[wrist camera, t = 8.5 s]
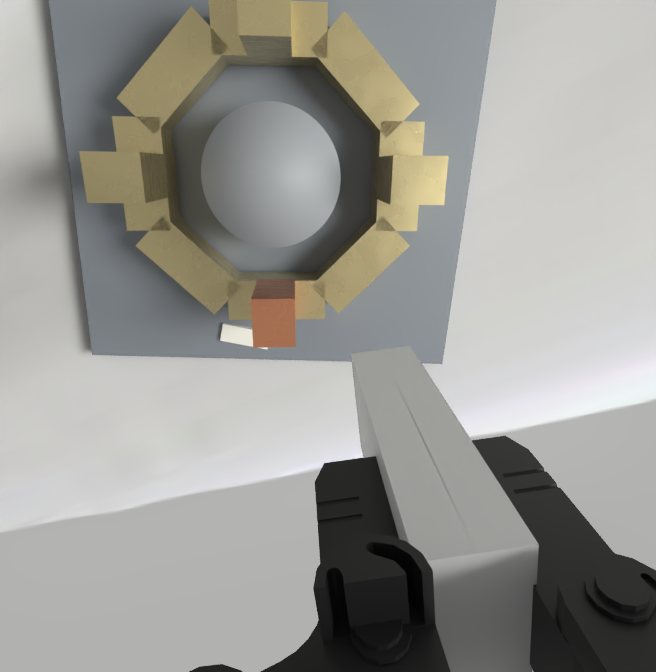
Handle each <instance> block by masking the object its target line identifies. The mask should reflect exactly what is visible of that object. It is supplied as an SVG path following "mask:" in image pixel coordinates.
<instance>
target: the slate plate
mask: <svg viewBox="0 0 656 672" xmlns="http://www.w3.org/2000/svg"><path fill="white" fill-rule="evenodd" d="M291 1H313V2H328V29H329V28H330V27H331V26H332V25H333V24H334V22H335V21H336V20H337V19H338V18H339V17H340V16H341V15H342V14H343V12H344V11H345V12H346V13H347V14H348V16H349V17H350V18H351V19H352V21H353V22H354V23H355V24H356V26H357V27H358V28H359V29H360V30H361V32H362V33H363V34H364V35H365V37H366V38H367V39H368V40H369V42H370V43H371V44H372V45H373V47H374V48H375V49H376V50H377V52H378V53H379V54H380V55H381V57H382V58H383V59H384V60H385V62H386V63H387V64H388V65H389V67H390V68H391V69H392V70H393V71H394V73H395V74H396V75H397V76H398V78H399V79H400V80H401V81H402V83H403V84H404V85H405V86H406V88H407V89H408V90H409V91H410V93H411V94H412V95H413V96H414V98H415V99H416V100H417V101H418V103H419V105H418V106H417V107H416V109H415V110H414V111H413V112H412V113H411V114H410V115H409V116H408V117H407V118H406V119H405V120H404V121H413V122H425V128H424V142H423V155H422V156H449V157H448V168H447V179H446V190H445V201H444V205H419V210H418V223H417V231H397V232H398V233H399V234H400V235H401V237H402V238H403V239H404V240H405V241H406V242H407V243H408V244H409V245H410V246H409V247H408V248H407V249H406V250H405V251H404V252H403V253H402V254H401V255H400V256H399V257H398V258H397V259H396V260H395V261H393V262H392V263H391V264H390V265H389V266H388V267H387V268H386V269H385V270H384V271H383V272H382V273H381V274H380V275H379V276H378V277H377V278H376V279H375V280H374V281H372V282H371V283H370V284H369V285H368V286H367V287H366V288H365V289H364V290H363V291H362V292H361V293H360V294H359V295H358V296H357V297H356V298H355V299H354V300H353V301H351V302H350V303H349V304H348V305H347V306H346V307H345V308H344V309H343V310H342V311H341V312H340V313H338V312H337V311H336V310H335V309H334V308H333V307H332V306H331V305H330V304H329V303H328V302H327V301H326V300H325V319H296V347H264V348H253V334H252V320H229V311H228V301H227V302H226V303H225V304H224V305H223V306H222V307H221V308H220V309H219V310H218V311H217V312H216V314H215V315H214V314H213V313H212V312H211V311H210V310H209V309H207V308H206V307H205V306H204V305H203V304H202V303H201V302H199V301H198V300H197V299H196V298H195V297H194V296H193V295H191V294H190V293H189V292H188V291H187V290H186V289H184V288H183V287H182V286H181V285H180V284H179V283H178V282H176V281H175V280H174V279H173V278H172V277H171V276H170V275H168V274H167V273H166V272H165V271H164V270H163V269H162V268H160V267H159V266H158V265H157V264H156V263H155V262H154V261H152V260H151V259H150V258H149V257H148V256H147V255H145V254H144V253H143V252H142V251H141V250H140V249H139V248H137V247H136V245H137V244H138V243H139V241H140V240H141V239H142V238H143V237H144V236H145V235H146V234H147V232H148V231H127V226H126V218H125V211H124V203H87V198H86V192H85V185H84V179H83V173H82V166H81V160H80V154H79V151H102V152H117V150H116V143H115V135H114V128H113V120H112V116H130V117H136V116H135V115H134V114H133V113H132V112H130V111H129V110H128V109H127V108H126V107H125V106H124V105H123V104H122V103H121V102H120V101H119V100H118V99H117V97H118V96H119V94H120V93H121V92H122V91H123V90H124V88H125V87H126V86H127V85H128V83H129V82H130V81H131V80H132V78H133V77H134V76H135V75H136V73H137V72H138V71H139V70H140V69H141V67H142V66H143V65H144V64H145V62H146V61H147V60H148V59H149V57H150V56H151V55H152V54H153V52H154V51H155V50H156V49H157V48H158V46H159V45H160V44H161V43H162V41H163V40H164V39H165V38H166V36H167V35H168V34H169V33H170V31H171V30H172V29H173V28H174V27H175V25H176V24H177V23H178V22H179V20H180V19H181V18H182V17H183V15H184V14H185V13H186V12H187V11H188V9H189V8H190V7H191V6H192V7H193V8H194V9H195V11H196V12H197V13H198V14H199V15H200V16H201V17H202V18H203V19H204V20H205V22H206V23H207V24H208V25H209V26H210V15H209V0H49V8H50V16H51V24H52V33H53V41H54V49H55V57H56V65H57V73H58V81H59V90H60V98H61V106H62V114H63V122H64V130H65V138H66V147H67V155H68V163H69V171H70V179H71V187H72V195H73V204H74V212H75V220H76V228H77V236H78V244H79V253H80V261H81V269H82V277H83V285H84V293H85V301H86V310H87V318H88V326H89V334H90V342H91V350H92V355H121V356H160V357H199V358H238V359H277V360H315V361H352V359H351V354H354V353H361V352H368V351H376V350H383V349H390V348H398V347H405V346H411V348H412V350H413V351H414V353H415V354H416V356H417V357H418V359H419V360H420V362H421V363H432V364H442V361H443V355H444V348H445V341H446V335H447V328H448V321H449V315H450V308H451V301H452V295H453V288H454V281H455V274H456V268H457V261H458V254H459V248H460V241H461V234H462V228H463V221H464V214H465V208H466V201H467V194H468V188H469V181H470V174H471V167H472V161H473V154H474V147H475V141H476V134H477V127H478V121H479V114H480V107H481V101H482V94H483V87H484V80H485V74H486V67H487V60H488V54H489V47H490V40H491V34H492V27H493V20H494V14H495V7H496V0H291ZM172 133H173V144H174V155H175V165H176V176H177V186H178V197H179V208H180V217H181V218H182V219H183V220H184V221H185V222H186V223H187V224H189V225H190V226H191V227H192V228H193V229H194V230H195V231H196V232H197V233H198V234H199V235H200V236H201V237H203V238H204V239H205V240H206V241H207V242H208V243H209V244H210V245H211V246H212V247H213V248H214V249H216V250H217V251H218V252H219V253H220V254H221V255H222V256H223V257H224V258H225V259H226V260H227V261H229V262H230V263H231V264H232V265H233V266H234V267H235V268H236V269H237V270H238V271H239V272H315V271H316V270H317V269H319V268H320V267H321V266H322V265H323V264H324V263H325V262H326V261H327V260H328V259H329V258H330V257H331V256H332V255H333V254H334V253H335V252H336V251H337V250H338V249H339V248H340V247H341V246H342V245H343V244H344V243H345V242H346V241H347V240H348V239H349V238H350V237H351V236H352V235H353V234H354V233H355V232H356V231H357V230H358V229H359V228H360V227H361V226H362V225H363V224H364V223H365V222H366V221H367V220H368V219H369V218H370V201H371V176H372V150H373V133H372V132H371V131H370V130H369V129H368V127H367V126H366V125H365V124H364V123H363V122H362V120H361V119H360V118H359V117H358V116H357V115H356V113H355V112H354V111H353V110H352V109H351V108H350V106H349V105H348V104H347V103H346V102H345V101H344V100H343V98H342V97H341V96H340V95H339V94H338V93H337V91H336V90H335V89H334V88H333V87H332V86H331V84H330V83H329V82H328V81H327V80H326V79H325V77H324V76H323V75H322V74H321V73H320V72H319V70H318V69H317V68H316V67H294V66H254V65H228V66H227V67H226V69H225V70H224V71H223V72H222V73H221V74H220V76H219V77H218V78H217V79H216V80H215V81H214V83H213V84H212V85H211V86H210V87H209V88H208V90H207V91H206V92H205V93H204V94H203V95H202V97H201V98H200V99H199V100H198V101H197V102H196V104H195V105H194V106H193V107H192V108H191V109H190V111H189V112H188V113H187V114H186V115H185V117H184V118H183V119H182V120H181V121H180V122H179V124H178V125H177V126H176V127H175V128H174V129H173V131H172Z"/></svg>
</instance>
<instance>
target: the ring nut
mask: <svg viewBox="0 0 656 672" xmlns="http://www.w3.org/2000/svg"><path fill="white" fill-rule="evenodd" d="M209 15H210V26H209V25H208V24H207V23H206V22H205V20H204V19H203V18H202V17H201V16H200V15H199V14H198V13H197V12H196V11H195V9H194V8H193V7H192V6H191V7H190V8H189V9H188V11H187V12H186V13H185V14H184V15H183V17H182V18H181V19H180V20H179V22H178V23H177V24H176V25H175V27H174V28H173V29H172V30H171V31H170V33H169V34H168V35H167V36H166V38H165V39H164V40H163V41H162V43H161V44H160V45H159V46H158V48H157V49H156V50H155V51H154V52H153V54H152V55H151V56H150V57H149V59H148V60H147V61H146V62H145V64H144V65H143V66H142V67H141V69H140V70H139V71H138V72H137V73H136V75H135V76H134V77H133V78H132V80H131V81H130V82H129V83H128V85H127V86H126V87H125V88H124V90H123V91H122V92H121V93H120V94H119V96H118V97H117V99H118V100H119V101H120V102H121V103H122V104H123V105H124V106H125V107H126V108H127V109H128V110H129V111H130V112H132V113H133V114H134V115H135V116H136V117H130V116H112V120H113V128H114V135H115V143H116V150H117V152H102V151H79V154H80V160H81V166H82V173H83V179H84V185H85V192H86V198H87V203H124V211H125V218H126V226H127V231H148V232H147V234H146V235H145V236H144V237H143V238H142V239H141V240H140V241H139V243H138V244H137V245H136V247H137V248H139V249H140V250H141V251H142V252H143V253H144V254H145V255H147V256H148V257H149V258H150V259H151V260H152V261H154V262H155V263H156V264H157V265H158V266H159V267H160V268H162V269H163V270H164V271H165V272H166V273H167V274H168V275H170V276H171V277H172V278H173V279H174V280H175V281H176V282H178V283H179V284H180V285H181V286H182V287H183V288H184V289H186V290H187V291H188V292H189V293H190V294H191V295H193V296H194V297H195V298H196V299H197V300H198V301H199V302H201V303H202V304H203V305H204V306H205V307H206V308H207V309H209V310H210V311H211V312H212V313H213V314H214V315H215V314H216V312H217V311H218V310H219V309H220V308H221V307H222V306H223V305H224V304H225V303H226V302H227V301H228V311H229V320H252V334H253V348H264V347H296V319H325V300H326V301H327V302H328V303H329V304H330V305H331V306H332V307H333V308H334V309H335V310H336V311H337V312H338V313H340V312H341V311H342V310H343V309H344V308H345V307H346V306H347V305H348V304H349V303H350V302H351V301H353V300H354V299H355V298H356V297H357V296H358V295H359V294H360V293H361V292H362V291H363V290H364V289H365V288H366V287H367V286H368V285H369V284H370V283H371V282H372V281H374V280H375V279H376V278H377V277H378V276H379V275H380V274H381V273H382V272H383V271H384V270H385V269H386V268H387V267H388V266H389V265H390V264H391V263H392V262H393V261H395V260H396V259H397V258H398V257H399V256H400V255H401V254H402V253H403V252H404V251H405V250H406V249H407V248H408V247H409V246H410V245H409V244H408V243H407V242H406V241H405V240H404V239H403V238H402V237H401V235H400V234H399V233H398V232H397V231H417V223H418V210H419V205H444V201H445V190H446V179H447V168H448V157H449V156H422V155H423V142H424V128H425V122H413V121H404V120H405V119H406V118H407V117H408V116H409V115H410V114H411V113H412V112H413V111H414V110H415V109H416V107H417V106H418V105H419V103H418V101H417V100H416V99H415V98H414V96H413V95H412V94H411V93H410V91H409V90H408V89H407V88H406V86H405V85H404V84H403V83H402V81H401V80H400V79H399V78H398V76H397V75H396V74H395V73H394V71H393V70H392V69H391V68H390V67H389V65H388V64H387V63H386V62H385V60H384V59H383V58H382V57H381V55H380V54H379V53H378V52H377V50H376V49H375V48H374V47H373V45H372V44H371V43H370V42H369V40H368V39H367V38H366V37H365V35H364V34H363V33H362V32H361V30H360V29H359V28H358V27H357V26H356V24H355V23H354V22H353V21H352V19H351V18H350V17H349V16H348V14H347V13H346V12H345V11H344V12H343V14H342V15H341V16H340V17H339V18H338V19H337V20H336V21H335V22H334V24H333V25H332V26H331V27H330V28H329V29H328V2H313V1H291V0H209ZM228 65H254V66H294V67H316V68H317V69H318V70H319V72H320V73H321V74H322V75H323V76H324V77H325V79H326V80H327V81H328V82H329V83H330V84H331V86H332V87H333V88H334V89H335V90H336V91H337V93H338V94H339V95H340V96H341V97H342V98H343V100H344V101H345V102H346V103H347V104H348V105H349V106H350V108H351V109H352V110H353V111H354V112H355V113H356V115H357V116H358V117H359V118H360V119H361V120H362V122H363V123H364V124H365V125H366V126H367V127H368V129H369V130H370V131H371V132H372V133H373V150H372V176H371V201H370V218H369V219H368V220H367V221H366V222H365V223H364V224H363V225H362V226H361V227H360V228H359V229H358V230H357V231H356V232H355V233H354V234H353V235H352V236H351V237H350V238H349V239H348V240H347V241H346V242H345V243H344V244H343V245H342V246H341V247H340V248H339V249H338V250H337V251H336V252H335V253H334V254H333V255H332V256H331V257H330V258H329V259H328V260H327V261H326V262H325V263H324V264H323V265H322V266H321V267H320V268H319V269H317V270H316V271H315V272H239V271H238V270H237V269H236V268H235V267H234V266H233V265H232V264H231V263H230V262H229V261H227V260H226V259H225V258H224V257H223V256H222V255H221V254H220V253H219V252H218V251H217V250H216V249H214V248H213V247H212V246H211V245H210V244H209V243H208V242H207V241H206V240H205V239H204V238H203V237H201V236H200V235H199V234H198V233H197V232H196V231H195V230H194V229H193V228H192V227H191V226H190V225H189V224H187V223H186V222H185V221H184V220H183V219H182V218H181V217H180V208H179V197H178V186H177V176H176V165H175V155H174V144H173V133H172V131H173V129H174V128H175V127H176V126H177V125H178V124H179V122H180V121H181V120H182V119H183V118H184V117H185V115H186V114H187V113H188V112H189V111H190V109H191V108H192V107H193V106H194V105H195V104H196V102H197V101H198V100H199V99H200V98H201V97H202V95H203V94H204V93H205V92H206V91H207V90H208V88H209V87H210V86H211V85H212V84H213V83H214V81H215V80H216V79H217V78H218V77H219V76H220V74H221V73H222V72H223V71H224V70H225V69H226V67H227V66H228Z"/></svg>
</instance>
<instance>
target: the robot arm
mask: <svg viewBox="0 0 656 672" xmlns="http://www.w3.org/2000/svg"><path fill="white" fill-rule="evenodd" d="M351 359H352V368H353V377H354V387H355V396H356V405H357V414H358V423H359V433H360V442H361V449H362V453H363V457H364V458H358V459H351V460H344V461H337V462H330V463H324V465H323V467H322V469H321V471H320V473H319V475H318V477H317V479H316V481H315V491H316V504H317V520H318V534H319V548H320V563H321V564H320V565H319V567H318V568H317V571H316V577H315V583H314V594H315V600H316V606H317V612H318V618H319V621H318V624H317V626H316V627H315V629H314V631H313V632H312V634H311V636H310V637H309V639H308V640H307V641H306V642H305V643H304V644H303V645H302V646H301V647H300V648H299V649H298V650H297V651H296V652H294V653H293V654H291V655H290V656H288V657H287V658H285V659H284V660H282V661H281V662H279V663H277V664H275V665H273V666H271V667H269V668H267V669H265V670H263V671H261V672H532V669H533V671H534V672H656V570H654V569H652V568H650V567H648V566H646V565H644V564H642V563H640V562H638V561H637V560H635V559H633V558H629V557H625V556H622V555H617V554H615V553H614V552H613V551H612V550H611V549H610V548H609V547H608V545H607V544H606V543H605V542H604V541H603V539H602V538H601V537H600V536H599V534H598V533H597V532H596V531H595V529H594V528H593V527H592V526H591V525H590V523H589V522H588V521H587V520H586V519H585V517H584V516H583V515H582V514H581V513H580V511H579V510H578V509H577V508H576V507H575V505H574V504H573V503H572V502H571V500H570V499H569V498H568V497H567V496H566V494H565V493H564V492H563V491H562V490H561V488H558V487H557V484H556V482H555V481H554V480H553V479H552V477H551V476H550V475H549V474H548V473H547V472H544V468H543V467H542V466H541V464H540V463H539V462H538V461H537V459H536V458H535V457H534V456H533V454H532V453H531V452H530V451H529V450H528V449H527V448H525V447H523V446H522V445H520V444H518V443H516V442H515V441H513V440H511V439H510V438H508V437H506V436H501V437H494V438H486V439H479V440H473V441H471V439H470V438H469V436H468V434H467V433H466V431H465V430H464V428H463V427H462V425H461V424H460V422H459V421H458V419H457V417H456V416H455V414H454V413H453V411H452V410H451V408H450V407H449V405H448V404H447V402H446V400H445V399H444V397H443V396H442V394H441V393H440V391H439V390H438V388H437V387H436V385H435V383H434V382H433V380H432V379H431V377H430V376H429V374H428V373H427V371H426V370H425V368H424V367H423V365H422V363H421V362H420V360H419V359H418V357H417V356H416V354H415V353H414V351H413V350H412V348H411V346H405V347H398V348H390V349H383V350H376V351H368V352H361V353H354V354H351ZM190 672H242V671H241V670H238V669H235V668H232V667H229V666H226V665H223V664H221V665H211V666H203V667H198V668H196V669H194V670H192V671H190Z"/></svg>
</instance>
